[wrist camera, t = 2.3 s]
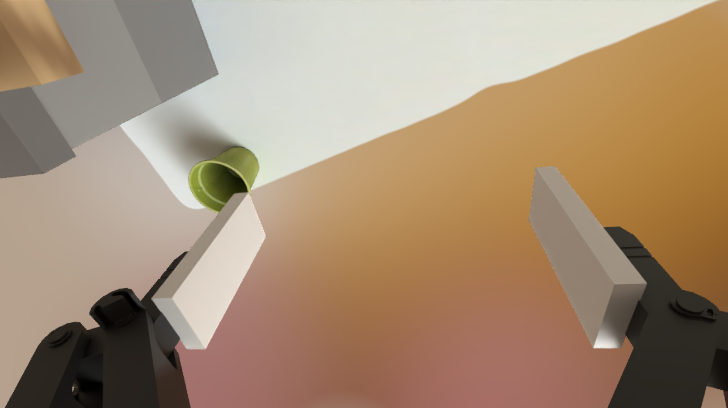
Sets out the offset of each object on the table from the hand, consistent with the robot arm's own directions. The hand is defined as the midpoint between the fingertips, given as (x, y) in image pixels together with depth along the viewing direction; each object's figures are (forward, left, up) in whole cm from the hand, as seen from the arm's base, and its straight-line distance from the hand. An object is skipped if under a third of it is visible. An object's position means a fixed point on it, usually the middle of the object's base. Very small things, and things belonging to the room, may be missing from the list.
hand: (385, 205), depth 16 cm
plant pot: (+20, -24, -37) cm, 48 cm away
